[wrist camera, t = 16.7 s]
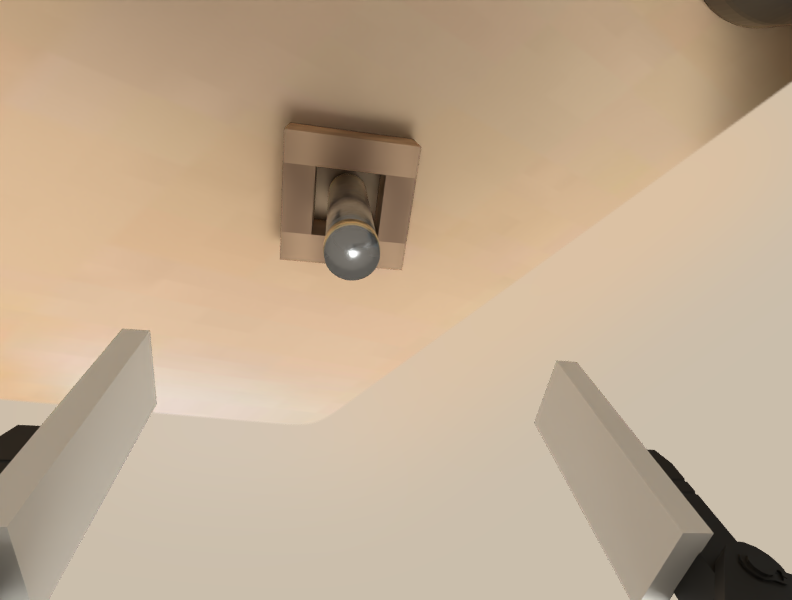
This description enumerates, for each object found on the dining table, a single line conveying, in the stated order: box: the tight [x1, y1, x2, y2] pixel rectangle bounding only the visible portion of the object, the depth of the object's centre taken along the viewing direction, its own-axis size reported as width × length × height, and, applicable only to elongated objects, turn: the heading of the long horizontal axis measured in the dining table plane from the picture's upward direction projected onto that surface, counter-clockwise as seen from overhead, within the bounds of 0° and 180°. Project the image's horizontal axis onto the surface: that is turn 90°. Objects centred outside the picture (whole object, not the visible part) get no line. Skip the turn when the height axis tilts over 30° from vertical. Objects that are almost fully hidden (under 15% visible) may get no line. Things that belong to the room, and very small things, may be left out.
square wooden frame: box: [280, 123, 421, 270], centre depth 35 cm, size 9×9×4 cm
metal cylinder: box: [323, 174, 380, 280], centre depth 31 cm, size 3×3×14 cm
